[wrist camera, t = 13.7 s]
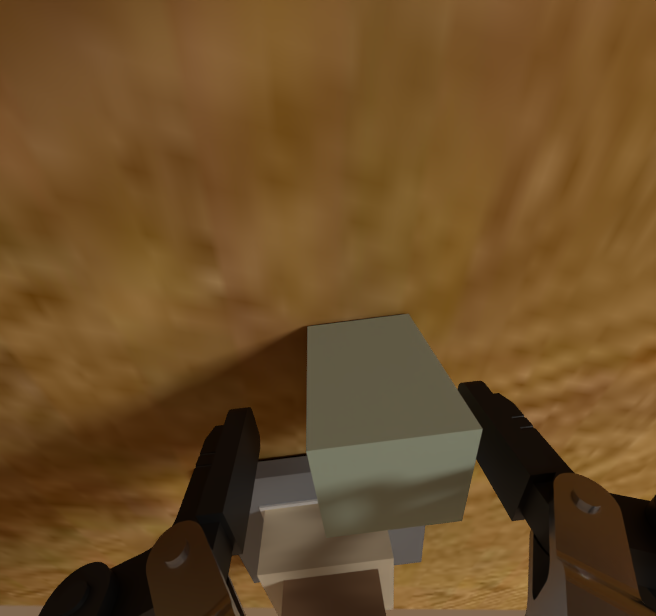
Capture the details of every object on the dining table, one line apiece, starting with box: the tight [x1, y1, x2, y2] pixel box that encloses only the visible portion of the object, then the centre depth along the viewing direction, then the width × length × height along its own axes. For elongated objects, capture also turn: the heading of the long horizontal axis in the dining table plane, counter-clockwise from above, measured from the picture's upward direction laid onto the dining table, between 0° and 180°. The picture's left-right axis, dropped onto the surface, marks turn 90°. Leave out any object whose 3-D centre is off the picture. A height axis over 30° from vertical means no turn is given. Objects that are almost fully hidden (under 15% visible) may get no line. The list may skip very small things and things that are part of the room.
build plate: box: [239, 456, 425, 583], centre depth 19 cm, size 13×13×1 cm
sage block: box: [306, 314, 483, 538], centre depth 11 cm, size 4×4×6 cm
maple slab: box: [257, 504, 394, 616], centre depth 17 cm, size 7×7×3 cm
